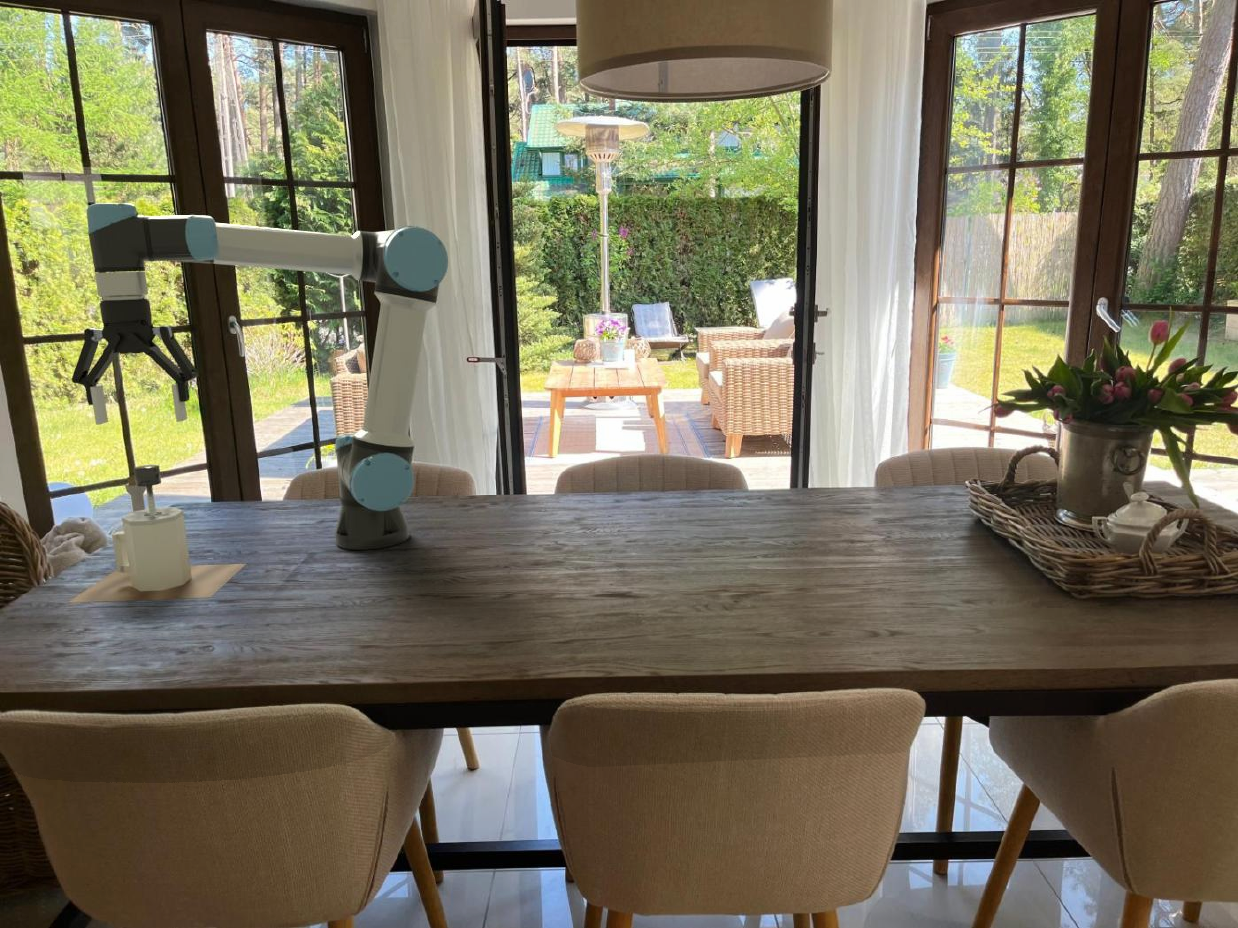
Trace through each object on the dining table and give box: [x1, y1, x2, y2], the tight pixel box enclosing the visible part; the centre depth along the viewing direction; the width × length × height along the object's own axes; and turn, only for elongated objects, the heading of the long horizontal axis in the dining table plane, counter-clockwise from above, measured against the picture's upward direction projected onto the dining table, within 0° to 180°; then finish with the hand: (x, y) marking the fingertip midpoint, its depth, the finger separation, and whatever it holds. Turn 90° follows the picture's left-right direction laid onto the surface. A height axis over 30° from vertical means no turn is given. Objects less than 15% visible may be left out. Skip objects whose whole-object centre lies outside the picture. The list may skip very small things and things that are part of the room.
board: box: [67, 563, 247, 604], centre depth 165 cm, size 24×18×2 cm
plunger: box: [133, 464, 162, 516], centre depth 162 cm, size 4×4×20 cm
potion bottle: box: [124, 474, 146, 512], centre depth 180 cm, size 9×9×18 cm
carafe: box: [111, 506, 192, 591], centre depth 163 cm, size 12×9×13 cm
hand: (142, 422), depth 158 cm, fingers open, 13 cm apart
